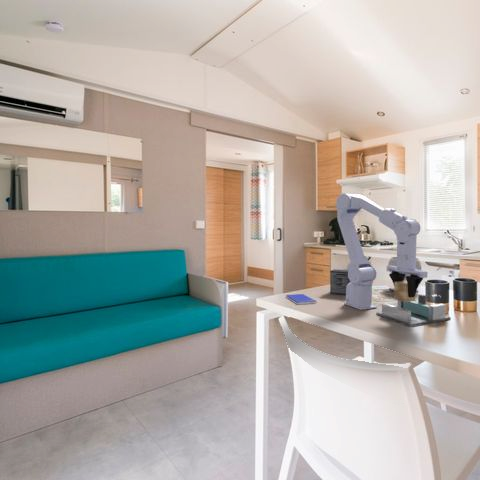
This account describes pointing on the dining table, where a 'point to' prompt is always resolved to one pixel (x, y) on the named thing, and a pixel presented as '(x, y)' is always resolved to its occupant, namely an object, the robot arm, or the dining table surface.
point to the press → (413, 314)
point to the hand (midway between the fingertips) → (405, 295)
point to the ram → (418, 306)
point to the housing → (402, 292)
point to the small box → (338, 281)
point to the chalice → (418, 266)
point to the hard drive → (301, 299)
